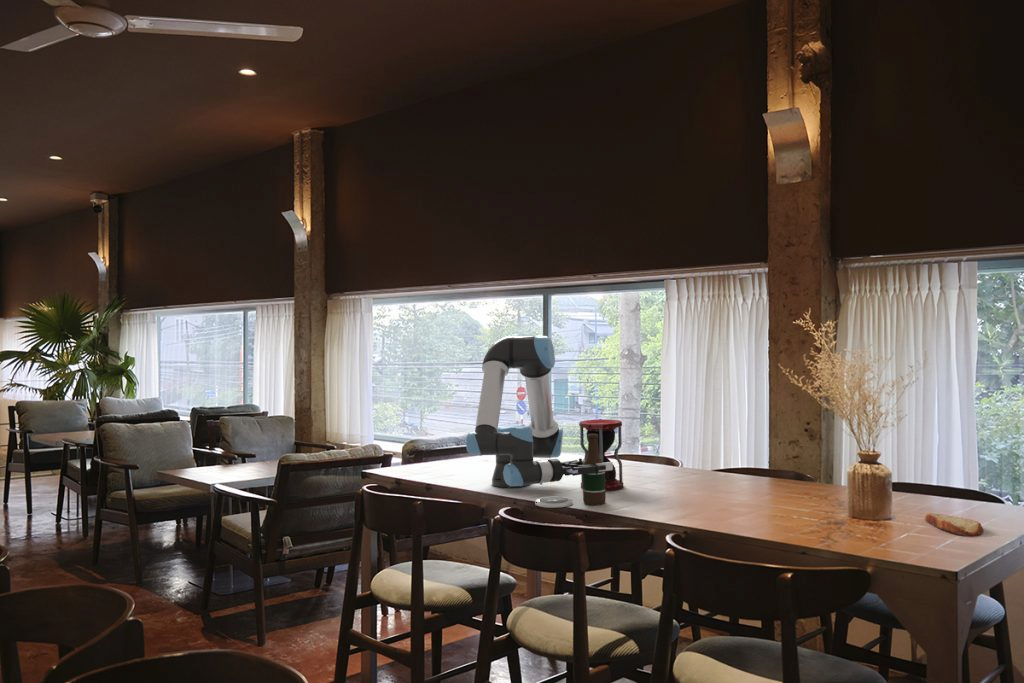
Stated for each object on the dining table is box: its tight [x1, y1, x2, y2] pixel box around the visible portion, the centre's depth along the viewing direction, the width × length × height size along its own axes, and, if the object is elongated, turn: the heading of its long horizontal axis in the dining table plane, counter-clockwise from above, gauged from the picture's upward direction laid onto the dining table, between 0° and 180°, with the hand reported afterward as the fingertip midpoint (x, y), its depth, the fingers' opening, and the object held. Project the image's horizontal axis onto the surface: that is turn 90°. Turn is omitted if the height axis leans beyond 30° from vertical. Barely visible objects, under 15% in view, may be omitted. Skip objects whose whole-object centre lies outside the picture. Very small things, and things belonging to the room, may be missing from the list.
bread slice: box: [923, 512, 984, 538], centre depth 240 cm, size 18×18×4 cm
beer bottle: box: [582, 434, 607, 506], centre depth 284 cm, size 8×8×24 cm
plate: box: [534, 495, 574, 509], centre depth 285 cm, size 13×13×1 cm
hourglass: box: [578, 418, 624, 492], centre depth 312 cm, size 16×16×25 cm
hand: (605, 464), depth 286 cm, fingers closed on beer bottle, 7 cm apart
